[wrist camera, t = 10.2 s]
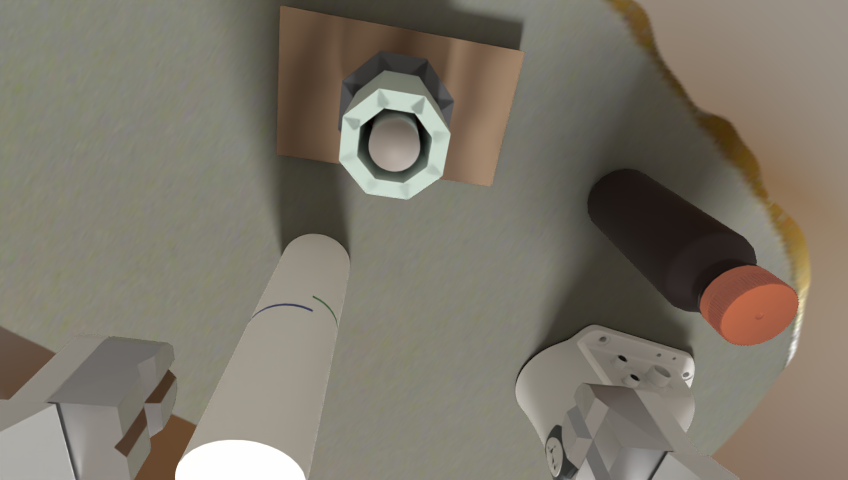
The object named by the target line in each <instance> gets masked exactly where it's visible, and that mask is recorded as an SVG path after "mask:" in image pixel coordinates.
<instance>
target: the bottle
mask: <svg viewBox="0 0 848 480" xmlns="http://www.w3.org/2000/svg"><path fill="white" fill-rule="evenodd" d="M588 213H589V215H590V218H591V220H592V221H593V222H594V223H595V225H596V226H597V227H598V228H599V229H600V230H601V231H602V232H603V233H604V234H605V235H606V236H607V237H608V238H609V239H610V240H611V241H612V242H613V243H614V244H615V246H616V247H617V248H618V249H619V250H620V251H621V252H622V253H623V254H624V255H625V256H626V257H627V258H628V259H629V260H630V261H631V262H632V263H633V264H634V266H635V267H636V268H637V269H638V270H639V271H640V272H641V273H642V274H643V275H644V276H645V277H646V278H647V279H648V280H649V281H650V282H651V283H652V284H653V286H654V287H655V288H656V289H657V290H658V291H659V292H660V293H661V294H662V295H663V296H664V297H665V298H666V299H667V300H668V301H669V302H670V303H671V304H672V305H673V306H675V307H677V308H680V309H682V310H684V311H689V312H700V313H701V314H702V316H703V317H704V318H705V320H706V321H707V322H708V323H709V324H710V325H711V326H712V327H713V328H714V329H715V330H716V331H717V332H718V333H719V334H720V335H721V336H722V337H723V338H724V339H725V340H727V341H728V342H730V343H732V344H735V345H736V344H737V345H741V346H742V345H744V346H745V345H747V346H748V345H750V346H751V345H754V344H760V343H762V342H765V341H767V340H770V339H772V338H774V337H775V336H777V335H778V334H780V333H781V332H782V331H783V330H784V329H785V328H786V327H788V325H789V324H790V323H791V322H792V320H793V319H794V317H795V315H796V313H797V311H798V310H797V308H798V303H799V302H798V300H799V299H797V298H798V297H797V294H796V292H795V290H793V288H791V287H790V286H789V285H788V284H786V283H785V282H783V281H782V280H780V279H779V278H777V277H776V276H774V275H773V274H772V273H770V272H769V271H767V270H765V269H763V268H761V267H759V266H757V265H756V263H757V260H756V256H755V251H754V249H753V247H752V246H751V245H750V243H749V242H748V241H747V240H746V239H745V238H744V237H743V236H741V235H739V234H738V233H736V232H735V231H733V230H732V229H730V228H728V227H727V226H725V225H724V224H722V223H721V222H719V221H717V220H716V219H714V218H713V217H711V216H710V215H708V214H706V213H705V212H703V211H702V210H700V209H699V208H697V207H695V206H694V205H692V204H691V203H689V202H688V201H686V200H684V199H683V198H681V197H680V196H678V195H677V194H675V193H673V192H672V191H670V190H669V189H667V188H666V187H664V186H662V185H661V184H659V183H658V182H656V181H655V180H653V179H651V178H650V177H648V176H647V175H645V174H643V173H641V172H639V171H637V170H629V169H624V170H618V171H614V172H612V173H610V174H608V175H606V176H605V177H603V178H602V179H601V180H600V181H599V182H598V183H597V184H596V185H595V187H594V188H593V190H592V191H591V193H590V196H589V200H588Z"/></svg>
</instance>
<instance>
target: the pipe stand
mask: <svg viewBox="0 0 848 480" xmlns="http://www.w3.org/2000/svg"><path fill="white" fill-rule="evenodd" d="M380 50H381V51H386V52H392V53H397V54H403V55H408V56H414V57H419V58H425V59H427V60H428V61H429V63H430V64H431V66H432V68H433V69H434V71H435V72H436V74H437V75H438V77H439V78H440V80H441V81H442V83H443V84H444V86H445V87H446V89H447V90H448V92H449V94H450V95H451V97H452V98H453V99H454V106H453V111H452V116H451V121H450V126H449V131H450V133H451V135H450V140H449V145H448V150H447V155H446V160H445V165H444V170H443V176H441V177H440V178H439V179H444V180H451V181H458V182H464V183H471V184H478V185H484V186H491V185H492V181H493V178H494V174H495V170H496V166H497V162H498V158H499V154H500V150H501V146H502V142H503V138H504V134H505V130H506V126H507V122H508V118H509V114H510V110H511V106H512V102H513V98H514V94H515V90H516V86H517V82H518V78H519V74H520V70H521V66H522V62H523V58H524V54H525V52H524V51H520V50H515V49H510V48H504V47H499V46H494V45H488V44H483V43H478V42H473V41H467V40H462V39H457V38H451V37H446V36H441V35H436V34H430V33H425V32H420V31H414V30H409V29H404V28H399V27H393V26H388V25H383V24H378V23H372V22H367V21H362V20H356V19H351V18H346V17H341V16H335V15H330V14H325V13H319V12H314V11H309V10H304V9H298V8H293V7H288V6H280V29H279V68H278V107H277V146H276V154H277V155H284V156H291V157H297V158H304V159H311V160H317V161H324V162H331V163H337V164H342V163H341V162H340V161H339V154H340V142H341V133H340V131H339V130H338V121H339V110H340V98H341V86H342V81H343V80H344V79H345V78H346V77H348V76H349V75H350V74H351V73H353V72H354V71H355V70H357V69H358V68H359V67H360V66H362V65H363V64H364V63H365V62H367V61H368V60H369V59H370V58H372V57H373V56H374V55H375V54H377V53H378V52H379V51H380ZM368 122H369V124H370V125H371V126H372V131H371V135H370V139H369V152H370V155H371V157H372V159H373V161H374V162H375V163H376V164H377V165H378V166H379V167H381V168H383V169H385V170H388V171H402V170H405V169H407V168H408V167H410V166H411V165H412V164H413V163H414V162H415V161H416V159H417V157H418V155H419V152H420V141H419V135H418V131H419V130H420V129H421V125H422V123H421V121H420V120H419V118H418V117H417V116H416V114H415V113H410V112H404V111H398V110H392V109H386V108H384V109H382V110H381V111H380V112H378V113H377V114H376V115H374V116H373V117H372V118H371V119H369V120H368Z"/></svg>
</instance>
